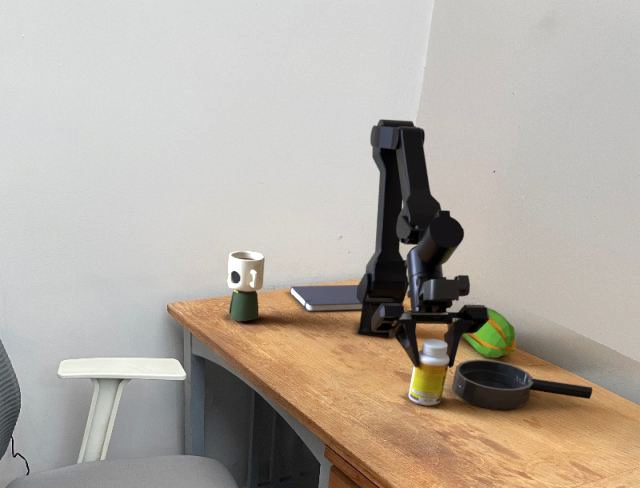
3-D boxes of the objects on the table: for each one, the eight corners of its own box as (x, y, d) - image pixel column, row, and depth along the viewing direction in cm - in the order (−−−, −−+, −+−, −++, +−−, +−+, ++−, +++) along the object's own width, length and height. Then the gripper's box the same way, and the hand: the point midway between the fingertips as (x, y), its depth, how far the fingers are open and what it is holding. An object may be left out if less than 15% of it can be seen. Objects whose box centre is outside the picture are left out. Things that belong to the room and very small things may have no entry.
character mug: (218, 311, 165) (220, 248, 158) (249, 309, 167) (253, 247, 160) (236, 329, 156) (240, 264, 149) (269, 326, 159) (274, 262, 152)
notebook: (375, 290, 184) (289, 293, 178) (376, 284, 183) (290, 286, 177) (397, 308, 174) (308, 311, 168) (398, 301, 173) (308, 304, 167)
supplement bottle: (442, 408, 131) (455, 350, 125) (409, 405, 131) (421, 348, 125) (437, 394, 136) (449, 338, 130) (406, 391, 136) (416, 335, 130)
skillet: (450, 403, 133) (455, 383, 131) (452, 374, 144) (456, 355, 142) (529, 415, 131) (535, 395, 129) (525, 385, 142) (531, 366, 140)
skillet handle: (529, 391, 134) (532, 380, 133) (528, 387, 136) (531, 376, 135) (589, 400, 133) (592, 389, 132) (588, 396, 134) (591, 385, 133)
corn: (496, 327, 144) (452, 292, 160) (484, 365, 148) (443, 328, 164) (531, 329, 146) (485, 295, 162) (519, 367, 150) (475, 330, 166)
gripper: (387, 253, 122) (395, 346, 119) (498, 256, 125) (509, 348, 122) (367, 286, 133) (374, 373, 130) (470, 289, 136) (479, 373, 133)
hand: (434, 366), depth 129 cm, fingers closed on supplement bottle, 5 cm apart
